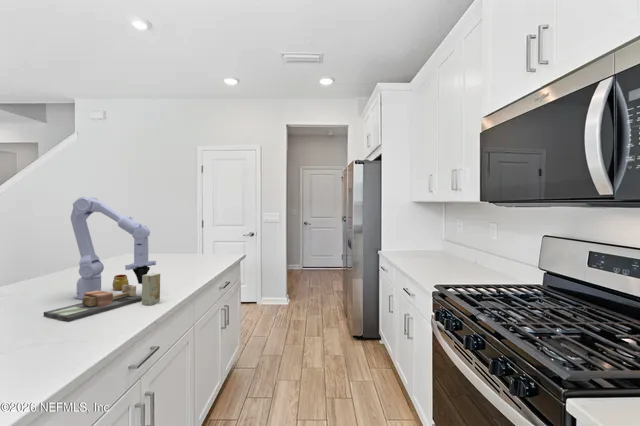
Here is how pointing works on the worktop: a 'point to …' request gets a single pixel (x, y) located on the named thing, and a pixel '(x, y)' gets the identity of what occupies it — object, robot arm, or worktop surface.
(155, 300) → the skincare box
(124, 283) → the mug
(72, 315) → the plate
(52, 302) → the worktop surface
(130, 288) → the tan wooden brick
